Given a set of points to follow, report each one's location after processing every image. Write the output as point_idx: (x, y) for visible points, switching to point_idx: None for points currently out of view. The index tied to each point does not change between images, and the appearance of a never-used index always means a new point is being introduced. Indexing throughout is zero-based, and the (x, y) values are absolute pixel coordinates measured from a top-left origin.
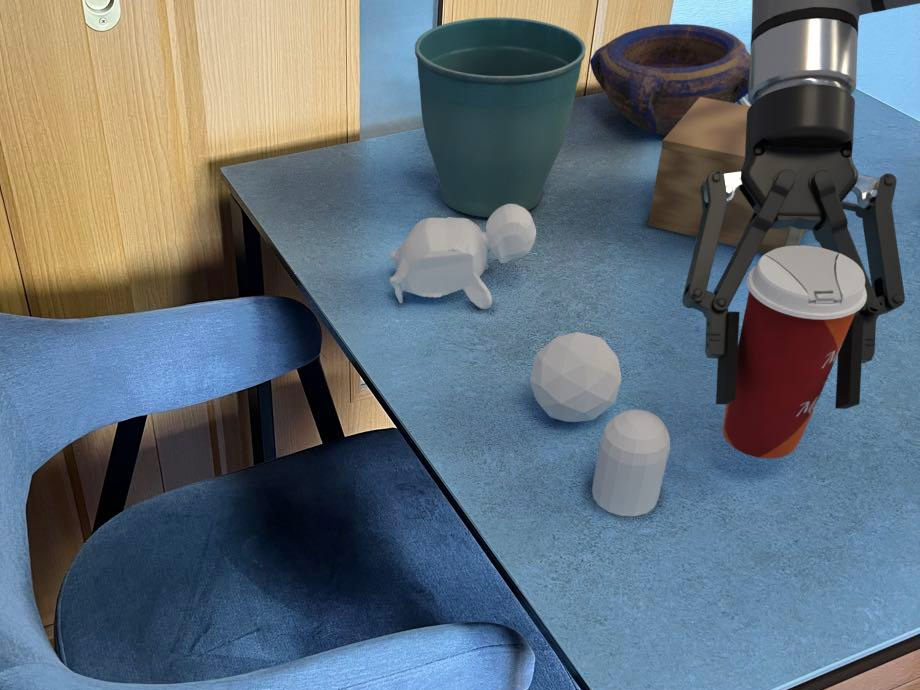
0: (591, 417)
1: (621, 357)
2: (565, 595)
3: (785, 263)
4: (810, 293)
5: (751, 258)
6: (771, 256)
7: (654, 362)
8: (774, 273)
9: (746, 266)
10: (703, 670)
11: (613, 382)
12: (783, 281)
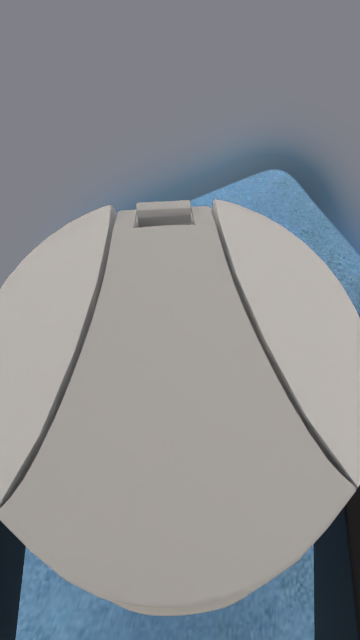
0: None
1: (307, 634)
2: (329, 251)
3: (265, 403)
4: (205, 220)
5: (356, 555)
6: (323, 468)
7: (262, 619)
8: (313, 325)
9: (355, 515)
10: (241, 202)
11: None
12: (285, 273)
